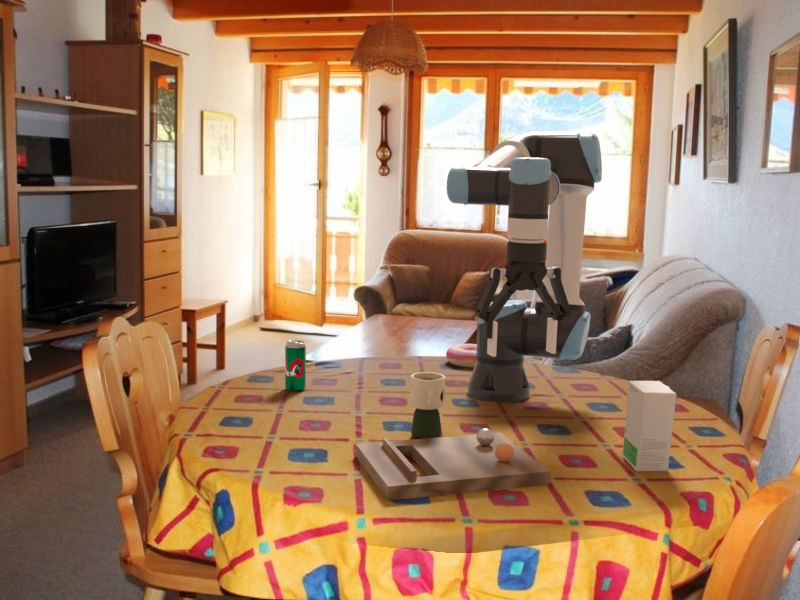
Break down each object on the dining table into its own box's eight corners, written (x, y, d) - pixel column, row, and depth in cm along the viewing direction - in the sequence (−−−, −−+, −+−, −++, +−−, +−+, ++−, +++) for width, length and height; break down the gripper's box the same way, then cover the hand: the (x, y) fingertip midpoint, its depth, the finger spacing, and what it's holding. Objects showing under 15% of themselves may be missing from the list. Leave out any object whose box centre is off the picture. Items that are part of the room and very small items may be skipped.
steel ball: (489, 441, 163) (490, 425, 163) (496, 447, 160) (497, 430, 160) (473, 443, 162) (474, 426, 162) (480, 449, 159) (480, 431, 159)
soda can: (309, 388, 208) (310, 341, 206) (296, 393, 204) (296, 345, 202) (294, 385, 211) (294, 338, 209) (280, 389, 206) (280, 342, 204)
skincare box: (621, 456, 164) (626, 379, 162) (654, 456, 165) (660, 379, 162) (637, 472, 156) (642, 391, 153) (671, 472, 156) (677, 391, 154)
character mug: (447, 445, 168) (449, 382, 166) (412, 446, 168) (414, 383, 165) (438, 428, 179) (440, 369, 177) (405, 428, 178) (407, 369, 176)
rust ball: (508, 457, 155) (509, 439, 154) (516, 463, 152) (517, 445, 151) (491, 459, 154) (492, 441, 153) (499, 465, 151) (500, 447, 150)
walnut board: (499, 444, 170) (500, 425, 169) (549, 484, 149) (550, 463, 148) (355, 456, 161) (356, 436, 160) (387, 500, 140) (388, 477, 139)
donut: (443, 368, 233) (443, 350, 232) (448, 357, 246) (449, 340, 245) (491, 371, 231) (492, 353, 230) (494, 360, 244) (495, 343, 243)
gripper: (574, 238, 164) (568, 346, 167) (459, 239, 157) (456, 351, 161) (593, 242, 157) (587, 355, 160) (474, 242, 150) (470, 360, 153)
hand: (521, 353), depth 160 cm, fingers open, 12 cm apart
